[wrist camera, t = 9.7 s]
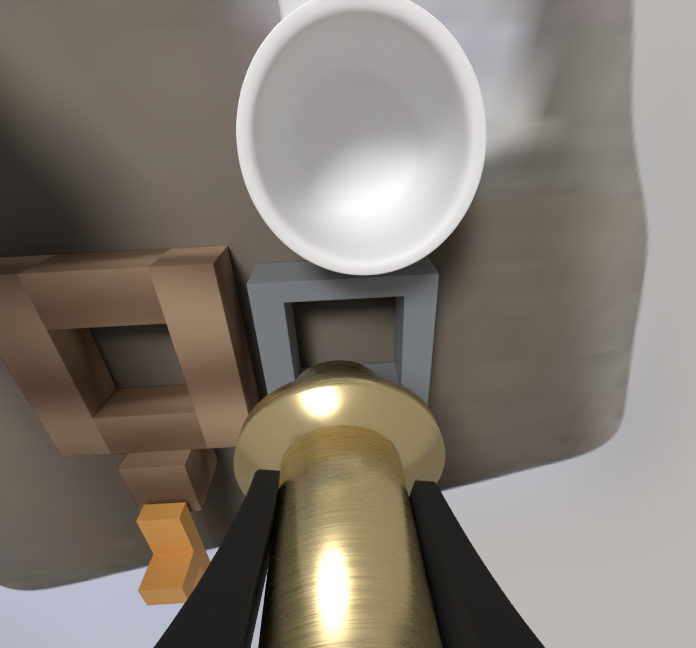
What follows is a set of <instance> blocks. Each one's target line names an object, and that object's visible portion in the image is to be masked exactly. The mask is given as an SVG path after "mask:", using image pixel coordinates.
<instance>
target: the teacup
mask: <svg viewBox="0 0 696 648" xmlns="http://www.w3.org/2000/svg"><path fill="white" fill-rule="evenodd" d="M278 5H279V10H280V15H281V22H280V23H279V24H278V25H277V26H276V27H275V28H274V29H273V30H272V31H271V32H270V33H269V35H268V36H267V37H266V39H265V40H264V41H263V43H262V44H261V46H260V47H259V49H258V51H257V52H256V54H255V56H254V58H253V60H252V62H251V64H250V66H249V69H248V71H247V74H246V76H245V79H244V82H243V86H242V89H241V93H240V98H239V103H238V110H237V122H236V138H237V150H238V157H239V162H240V167H241V171H242V175H243V178H244V181H245V184H246V187H247V190H248V192H249V194H250V197H251V199H252V201H253V203H254V205H255V207H256V208H257V210H258V212H259V213H260V215H261V217H262V218H263V220H264V221H265V222H266V224H267V225H268V226H269V228H270V229H271V230H272V231H273V232H274V234H275V235H276V236H277V237H278V238H279V239H280V240H281V241H282V242H283V243H284V244H285V245H287V246H288V247H289V248H290V249H291V250H293V251H294V252H295V253H297V254H298V255H300V256H301V257H303V258H304V259H306V260H308V261H310V262H312V263H314V264H316V265H318V266H320V267H323V268H325V269H328V270H331V271H335V272H339V273H344V274H350V275H377V274H383V273H388V272H392V271H395V270H399V269H401V268H404V267H407V266H409V265H411V264H413V263H415V262H417V261H419V260H420V259H422V258H424V257H425V256H427V255H428V254H429V253H431V252H432V251H433V250H435V249H436V248H437V247H438V246H439V245H440V244H442V243H443V242H444V241H445V240H446V239H447V238H448V236H449V235H450V234H451V233H452V232H453V231H454V229H455V228H456V227H457V226H458V224H459V223H460V221H461V220H462V218H463V217H464V215H465V213H466V212H467V210H468V208H469V206H470V204H471V202H472V200H473V198H474V195H475V193H476V190H477V188H478V185H479V182H480V178H481V174H482V170H483V166H484V160H485V153H486V138H487V131H486V116H485V108H484V103H483V98H482V94H481V90H480V87H479V84H478V81H477V78H476V75H475V73H474V70H473V68H472V66H471V64H470V62H469V60H468V58H467V56H466V54H465V53H464V51H463V49H462V48H461V46H460V45H459V43H458V42H457V41H456V39H455V38H454V37H453V36H452V34H451V33H450V32H449V31H448V30H447V29H446V28H445V27H444V26H443V25H442V24H441V23H440V22H439V21H438V20H437V19H436V18H435V17H434V16H432V15H431V14H430V13H429V12H427V11H426V10H424V9H423V8H421V7H420V6H418V5H416V4H415V3H413V2H411V1H409V0H278Z"/></svg>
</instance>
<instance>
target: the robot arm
mask: <svg viewBox="0 0 696 648" xmlns="http://www.w3.org/2000/svg"><path fill="white" fill-rule="evenodd" d="M279 479H280V471H278V470H263V469H259V470H257V471H255V474H254V477H253V480H252V482H251V485H250V487H249V490H248V492H247V495H246V497H245V499H244V501H243V503H242V505H241V507H240V510H239V512H238V514H237V516H236V518H235V520H234V521H233V523H232V525H231V527H230V529H229V531H228V533H227V534H226V536H225V538H224V540H223V542H222V544H221V545H220V547H219V549H218V551H217V552H216V554H215V556H214V557H213V559H212V561H211V562H210V564H209V566H208V567H207V569H206V571H205V572H204V574H203V576H202V577H201V579H200V580H199V582H198V584H197V585H196V587H195V588H194V590H193V591H192V593H191V594H190V596H189V598H188V599H187V601H186V602H185V604H184V605H183V607H182V608H181V610H180V611H179V612H178V614H177V616H176V617H175V618H174V620H173V621H172V623H171V624H170V626H169V627H168V629H167V630H166V631H165V633H164V634H163V635H162V637H161V638H160V640H159V641H158V642H157V644H156V645H155V647H154V648H251V642H252V638H253V633H254V629H255V624H256V619H257V615H258V610H259V606H260V601H261V597H262V592H263V588H264V583H265V578H266V574H267V569H268V564H269V556H270V548H271V539H272V531H273V525H274V518H275V511H276V504H277V497H278V489H279ZM409 499H410V504H411V508H412V513H413V517H414V522H415V526H416V531H417V535H418V540H419V544H420V549H421V553H422V558H423V562H424V567H425V571H426V576H427V580H428V585H429V589H430V594H431V598H432V603H433V607H434V612H435V616H436V621H437V625H438V630H439V634H440V639H441V643H442V648H545V647H544V646H543V644H542V643H541V642H540V641H539V639H538V638H537V637H536V636H535V634H534V633H533V632H532V630H531V629H530V628H529V626H528V625H527V624H526V623H525V621H524V620H523V619H522V617H521V616H520V615H519V613H518V612H517V611H516V609H515V608H514V606H513V605H512V604H511V602H510V601H509V600H508V598H507V597H506V595H505V594H504V593H503V591H502V590H501V588H500V587H499V585H498V584H497V582H496V581H495V579H494V578H493V577H492V575H491V573H490V572H489V570H488V569H487V567H486V566H485V564H484V563H483V561H482V560H481V558H480V557H479V555H478V554H477V552H476V550H475V549H474V547H473V546H472V544H471V543H470V541H469V539H468V538H467V536H466V534H465V533H464V531H463V529H462V528H461V526H460V524H459V523H458V521H457V519H456V517H455V516H454V514H453V512H452V511H451V509H450V507H449V505H448V504H447V502H446V500H445V498H444V497H443V495H442V493H441V491H440V489H439V487H438V486H437V484H436V483H435V482H434V481H420V480H415V482H414V485H413V487H412V490H411V493H410V496H409Z"/></svg>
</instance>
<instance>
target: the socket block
mask: <svg viewBox="0 0 696 648" xmlns="http://www.w3.org/2000/svg"><path fill="white" fill-rule="evenodd" d="M148 324H167V327H168V330H169V333H170V336H171V339H172V342H173V345H174V348H175V351H176V354H177V357H178V360H179V363H180V366H181V369H182V372H183V375H184V378H185V381H186V384H183V385H165V386H148V387H130V388H116V386H115V384H114V382H113V380H112V377H111V375H110V373H109V371H108V369H107V366H106V364H105V362H104V360H103V358H102V355H101V353H100V351H99V349H98V347H97V344H96V342H95V340H94V338H93V336H92V333H91V331H90V329H89V328H92V327H111V326H129V325H148ZM0 357H1V358H2V360H3V361H4V363H5V365H6V366H7V368H8V370H9V371H10V373H11V374H12V376H13V378H14V379H15V381H16V382H17V384H18V386H19V387H20V389H21V391H22V392H23V394H24V395H25V397H26V399H27V400H28V402H29V403H30V405H31V407H32V408H33V410H34V412H35V413H36V415H37V416H38V418H39V420H40V421H41V423H42V424H43V426H44V428H45V429H46V431H47V433H48V434H49V436H50V437H51V439H52V441H53V442H54V444H55V446H56V447H57V449H58V450H59V452H60V454H61V455H62V457H70V456H87V455H105V454H122V453H128V454H127V455H126V457H125V459H124V460H123V462H122V464H121V465H120V467H119V469H118V470H119V472H120V474H121V476H122V478H123V480H124V482H125V484H126V485H127V487H128V489H129V491H130V493H131V495H132V497H133V499H134V501H135V503H136V505H137V506H138V508H139V510H140V512H141V510H142V508H143V506H144V505H147V504H164V503H181V502H186V504H187V507H188V509H189V511H202V508H203V505H204V502H205V499H206V496H207V493H208V490H209V487H210V484H211V481H212V478H213V475H214V472H215V469H216V466H217V463H218V460H217V457H216V454H215V451H214V448H226V447H236V445H237V441H238V437H239V433H240V430H241V428H242V425H243V423H244V421H245V419H246V418H247V416H248V414H249V413H250V412H251V411H252V409H253V408H254V407H255V406H256V405H257V404H258V403H259V402H260V399H259V394H258V389H257V384H256V380H255V375H254V370H253V365H252V361H251V356H250V351H249V346H248V341H247V337H246V332H245V327H244V322H243V318H242V313H241V308H240V303H239V299H238V294H237V289H236V284H235V279H234V275H233V270H232V265H231V260H230V256H229V251H228V246H211V247H192V248H173V249H153V250H134V251H115V252H95V253H76V254H57V255H37V256H18V257H0Z"/></svg>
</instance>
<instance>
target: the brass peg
mask: <svg viewBox="0 0 696 648" xmlns="http://www.w3.org/2000/svg"><path fill="white" fill-rule="evenodd" d="M444 464H445V445H444V441H443V438H442V435H441V432H440V430H439V427H438V424H437V422H436V419H435V416H434V415H433V413H432V411H431V410H430V408H429V407H428V406H427V405H426V403H425V402H424V401H423V400H422V399H421V398H420V397H419V396H417V395H416V394H415V393H414V392H412V391H411V390H409V389H408V388H406V387H404V386H403V385H401V384H399V383H396V382H394V381H392V380H389V379H386V378H383V377H380V376H377V375H376V374H375V373H374V372H373V371H372V370H370V369H369V368H367V367H365V366H363V365H361V364H358V363H355V362H350V361H341V360H340V361H328V362H324V363H320V364H317V365H315V366H313V367H311V368H309V369H307V370H306V371H304V372H303V373H302V374H301V375H300V376H299V377H298V378H297V379H296V380H295V381H293V382H290V383H288V384H286V385H284V386H282V387H280V388H278V389H276V390H275V391H273V392H272V393H270V394H269V395H267V396H266V397H265V398H263V399H262V400H261V401H260V402H259V403H258V404H257V405H256V406H255V407H254V408H253V409H252V411H251V412H250V413H249V414H248V416H247V418H246V419H245V421H244V423H243V425H242V428H241V430H240V433H239V437H238V441H237V445H236V449H235V454H234V473H235V477H236V480H237V482H238V485H239V487H240V489H241V490H242V492H243V493H244V495H245V496H246V495H247V492H248V490H249V487H250V485H251V482H252V480H253V477H254V474H255V471H257V470H259V469H263V470H278V471H280V479H279V489H278V497H277V504H276V511H275V518H274V525H273V531H272V539H271V548H270V556H269V564H268V572H267V581H266V588H265V597H264V605H263V613H262V621H261V629H260V638H259V645H258V648H442V643H441V639H440V634H439V630H438V625H437V621H436V616H435V612H434V607H433V603H432V598H431V594H430V589H429V585H428V580H427V576H426V571H425V567H424V562H423V558H422V553H421V549H420V544H419V540H418V535H417V531H416V526H415V522H414V517H413V513H412V508H411V504H410V499H409V496H410V493H411V490H412V487H413V485H414V482H415V480H420V481H434V482H435V483H436V484H437V482H438V481H439V479H440V477H441V474H442V472H443V469H444Z"/></svg>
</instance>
